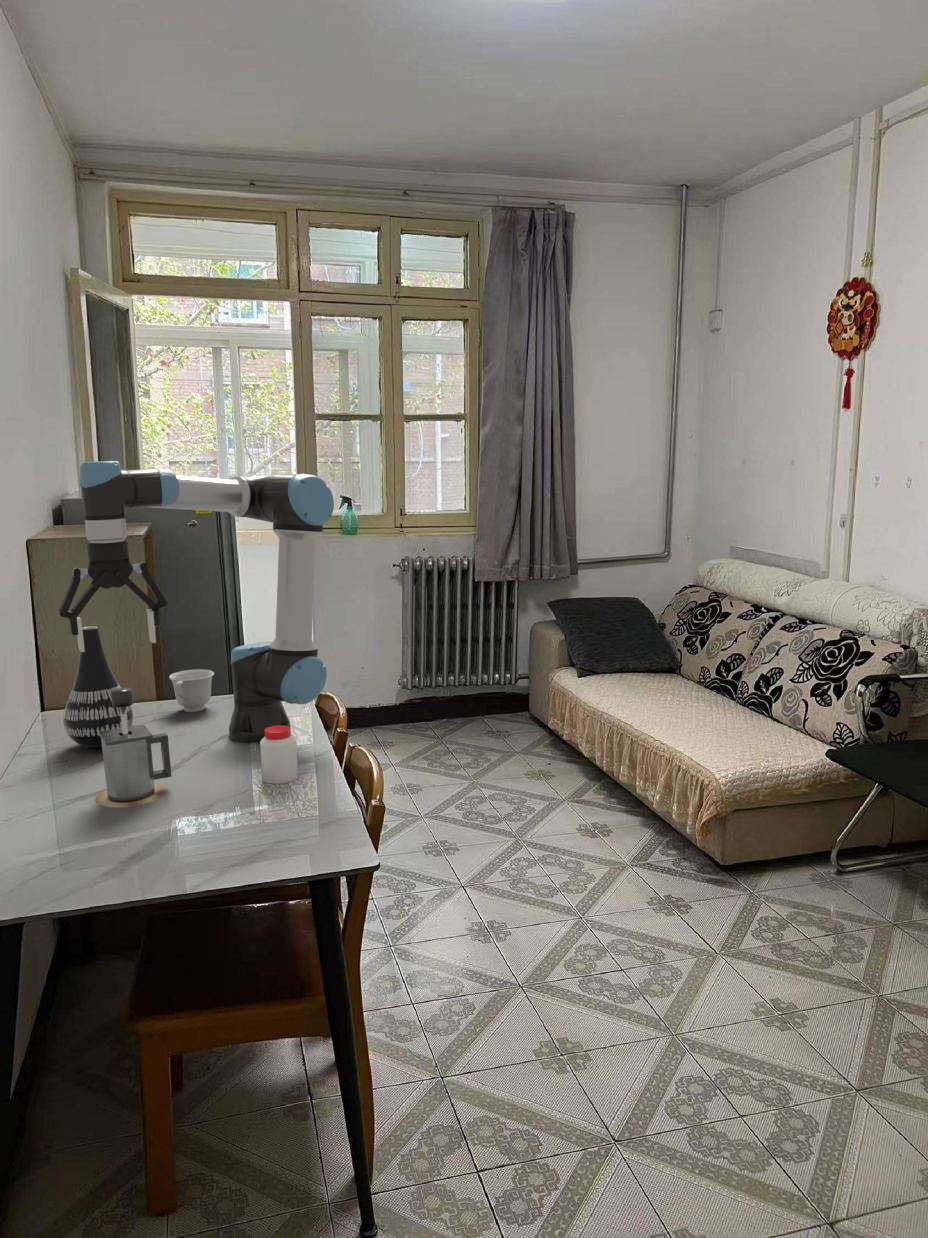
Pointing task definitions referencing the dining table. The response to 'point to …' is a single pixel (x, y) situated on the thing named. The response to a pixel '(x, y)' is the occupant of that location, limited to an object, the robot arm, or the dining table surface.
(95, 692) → the vase
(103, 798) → the ring
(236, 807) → the dining table surface
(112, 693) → the plunger
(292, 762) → the pill bottle
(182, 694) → the teacup
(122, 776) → the french press
